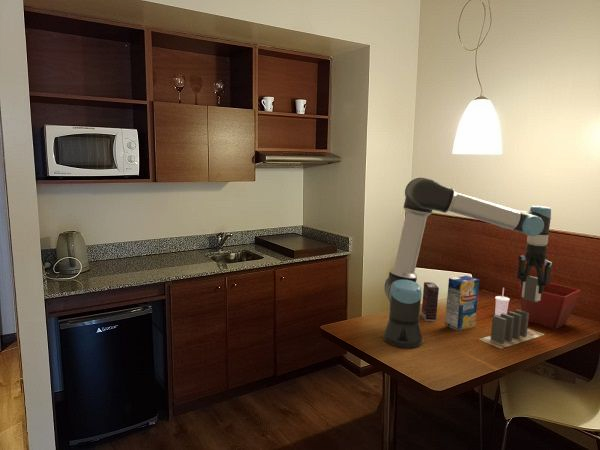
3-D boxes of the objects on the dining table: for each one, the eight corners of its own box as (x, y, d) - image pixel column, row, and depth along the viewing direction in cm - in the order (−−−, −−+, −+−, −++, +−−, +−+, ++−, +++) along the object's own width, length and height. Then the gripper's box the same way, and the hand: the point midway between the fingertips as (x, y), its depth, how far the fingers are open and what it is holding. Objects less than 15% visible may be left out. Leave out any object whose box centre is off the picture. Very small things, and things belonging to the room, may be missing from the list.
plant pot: (576, 325, 199) (581, 289, 196) (559, 335, 187) (564, 296, 184) (532, 313, 213) (536, 279, 211) (514, 321, 201) (518, 285, 198)
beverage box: (444, 327, 191) (448, 278, 188) (462, 323, 196) (466, 275, 193) (456, 332, 185) (461, 282, 182) (474, 328, 190) (479, 279, 187)
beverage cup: (491, 316, 207) (494, 287, 205) (496, 313, 211) (499, 285, 209) (504, 319, 203) (508, 290, 200) (509, 316, 207) (512, 288, 205)
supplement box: (436, 321, 197) (439, 287, 195) (425, 321, 197) (428, 287, 195) (431, 315, 206) (433, 282, 203) (420, 314, 206) (423, 281, 203)
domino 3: (517, 339, 178) (519, 315, 176) (505, 334, 182) (508, 311, 180) (519, 338, 179) (522, 315, 177) (508, 334, 183) (510, 311, 181)
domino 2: (509, 341, 175) (512, 317, 174) (498, 337, 179) (500, 313, 178) (511, 340, 176) (514, 317, 175) (500, 336, 180) (503, 313, 179)
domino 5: (535, 302, 181) (538, 278, 179) (523, 298, 185) (526, 275, 184) (537, 301, 182) (540, 278, 180) (526, 298, 186) (528, 275, 184)
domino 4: (524, 337, 180) (526, 313, 179) (513, 332, 185) (515, 309, 183) (526, 336, 181) (529, 313, 180) (515, 332, 185) (517, 309, 184)
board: (500, 351, 169) (500, 348, 168) (478, 341, 177) (478, 338, 177) (544, 336, 184) (545, 334, 184) (522, 328, 192) (522, 326, 192)
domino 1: (501, 344, 173) (504, 319, 171) (490, 339, 177) (492, 315, 175) (504, 343, 173) (506, 319, 172) (493, 338, 178) (495, 315, 176)
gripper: (564, 247, 174) (557, 303, 178) (521, 239, 189) (516, 291, 193) (554, 248, 170) (547, 306, 174) (511, 240, 185) (505, 293, 189)
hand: (530, 298), depth 183 cm, fingers closed on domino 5, 5 cm apart
